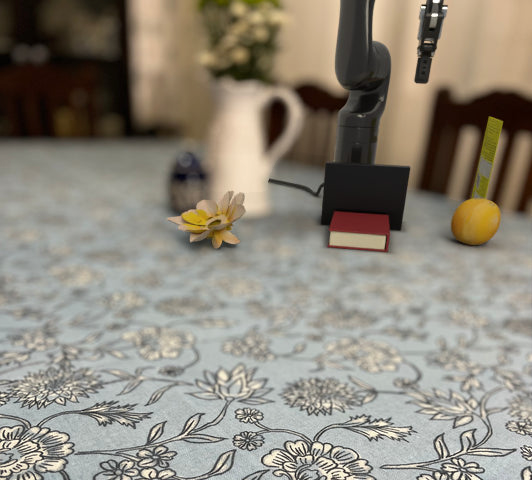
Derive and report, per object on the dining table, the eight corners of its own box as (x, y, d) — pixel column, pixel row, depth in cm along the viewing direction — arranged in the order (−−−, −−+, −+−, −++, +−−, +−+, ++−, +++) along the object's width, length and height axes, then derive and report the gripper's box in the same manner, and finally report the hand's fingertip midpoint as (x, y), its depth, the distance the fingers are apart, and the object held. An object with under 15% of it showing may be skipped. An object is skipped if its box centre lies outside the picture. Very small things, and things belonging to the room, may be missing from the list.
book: (387, 252, 90) (390, 233, 89) (327, 247, 92) (328, 229, 90) (386, 231, 102) (388, 215, 101) (333, 227, 104) (334, 211, 102)
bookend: (400, 230, 103) (410, 167, 97) (320, 224, 105) (325, 162, 99) (399, 222, 109) (408, 162, 103) (323, 216, 111) (328, 157, 105)
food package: (481, 226, 107) (505, 121, 98) (476, 226, 108) (499, 121, 98) (471, 210, 121) (491, 116, 111) (466, 210, 121) (486, 116, 111)
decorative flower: (159, 222, 96) (170, 167, 92) (216, 231, 101) (228, 180, 97) (179, 251, 85) (192, 190, 80) (242, 260, 90) (257, 203, 85)
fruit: (488, 252, 91) (499, 207, 88) (442, 244, 95) (451, 200, 91) (498, 241, 98) (508, 198, 94) (455, 234, 102) (463, 192, 98)
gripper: (475, -58, 70) (448, 85, 79) (463, -40, 82) (440, 83, 90) (419, -59, 71) (398, 83, 80) (415, -41, 83) (396, 81, 91)
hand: (420, 83), depth 85 cm, fingers closed
